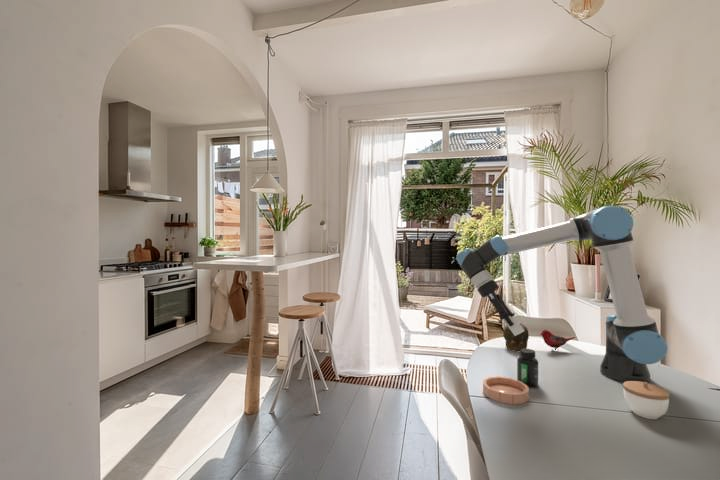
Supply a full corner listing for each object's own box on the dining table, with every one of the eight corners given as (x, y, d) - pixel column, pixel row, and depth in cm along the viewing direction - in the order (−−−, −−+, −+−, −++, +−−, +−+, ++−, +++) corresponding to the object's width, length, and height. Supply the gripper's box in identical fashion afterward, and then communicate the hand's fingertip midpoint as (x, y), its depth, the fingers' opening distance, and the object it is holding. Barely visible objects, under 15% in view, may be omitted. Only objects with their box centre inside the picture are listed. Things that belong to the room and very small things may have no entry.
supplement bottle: (525, 388, 119) (525, 354, 119) (513, 380, 126) (513, 348, 126) (542, 387, 120) (542, 353, 120) (529, 379, 127) (529, 347, 127)
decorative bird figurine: (538, 350, 160) (538, 329, 160) (573, 349, 162) (573, 328, 162) (542, 352, 157) (542, 330, 157) (577, 351, 159) (577, 329, 159)
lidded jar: (679, 425, 96) (679, 392, 96) (635, 421, 98) (635, 388, 98) (654, 407, 106) (654, 376, 106) (615, 403, 108) (615, 374, 108)
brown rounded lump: (529, 347, 165) (530, 322, 165) (527, 353, 155) (527, 327, 155) (505, 343, 170) (505, 319, 170) (501, 349, 161) (501, 324, 161)
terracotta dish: (536, 395, 114) (536, 386, 114) (515, 408, 105) (515, 398, 105) (496, 381, 125) (496, 373, 125) (475, 392, 116) (475, 383, 116)
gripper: (482, 291, 145) (514, 336, 136) (470, 287, 124) (507, 340, 115) (497, 281, 143) (531, 327, 134) (488, 275, 122) (527, 329, 113)
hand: (520, 333), depth 125 cm, fingers open, 13 cm apart
